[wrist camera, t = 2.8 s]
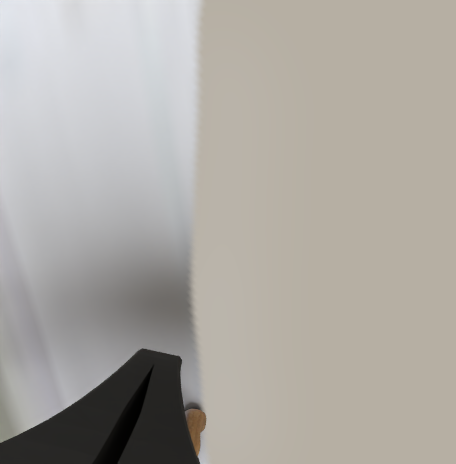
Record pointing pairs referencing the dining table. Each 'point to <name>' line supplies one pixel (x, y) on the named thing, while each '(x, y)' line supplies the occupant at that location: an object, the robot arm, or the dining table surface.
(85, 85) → the dining table surface
